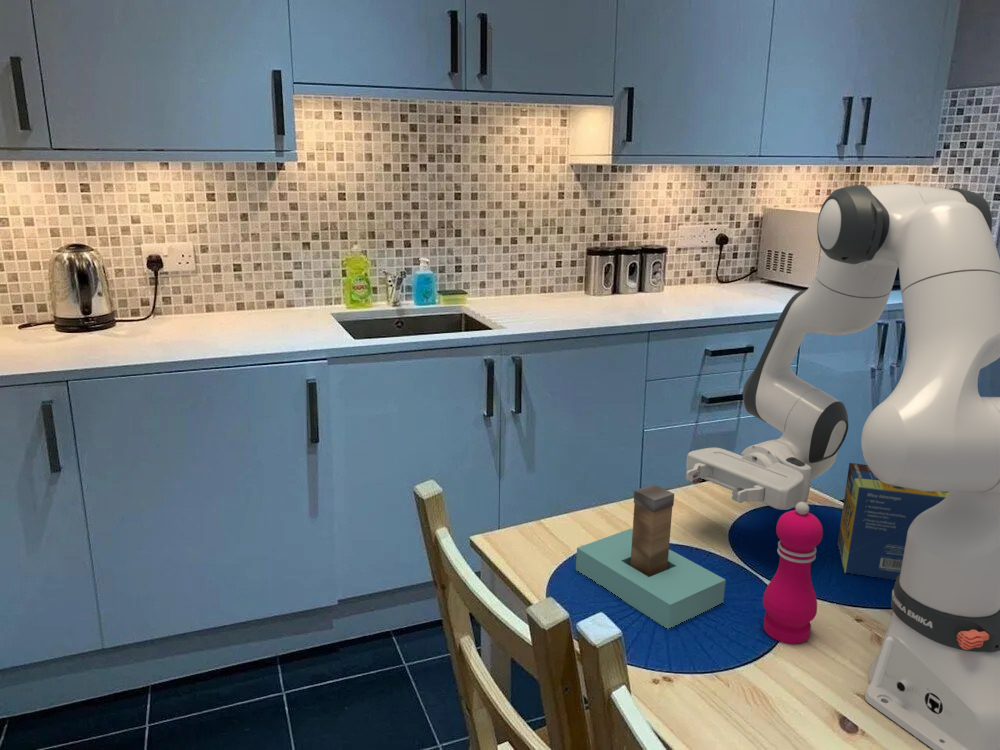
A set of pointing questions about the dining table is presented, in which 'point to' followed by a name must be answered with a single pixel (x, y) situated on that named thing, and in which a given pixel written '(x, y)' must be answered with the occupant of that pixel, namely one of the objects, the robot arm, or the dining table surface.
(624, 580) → the post foot
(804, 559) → the pepper mill
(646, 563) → the peg
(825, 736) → the dining table surface
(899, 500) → the protein box
